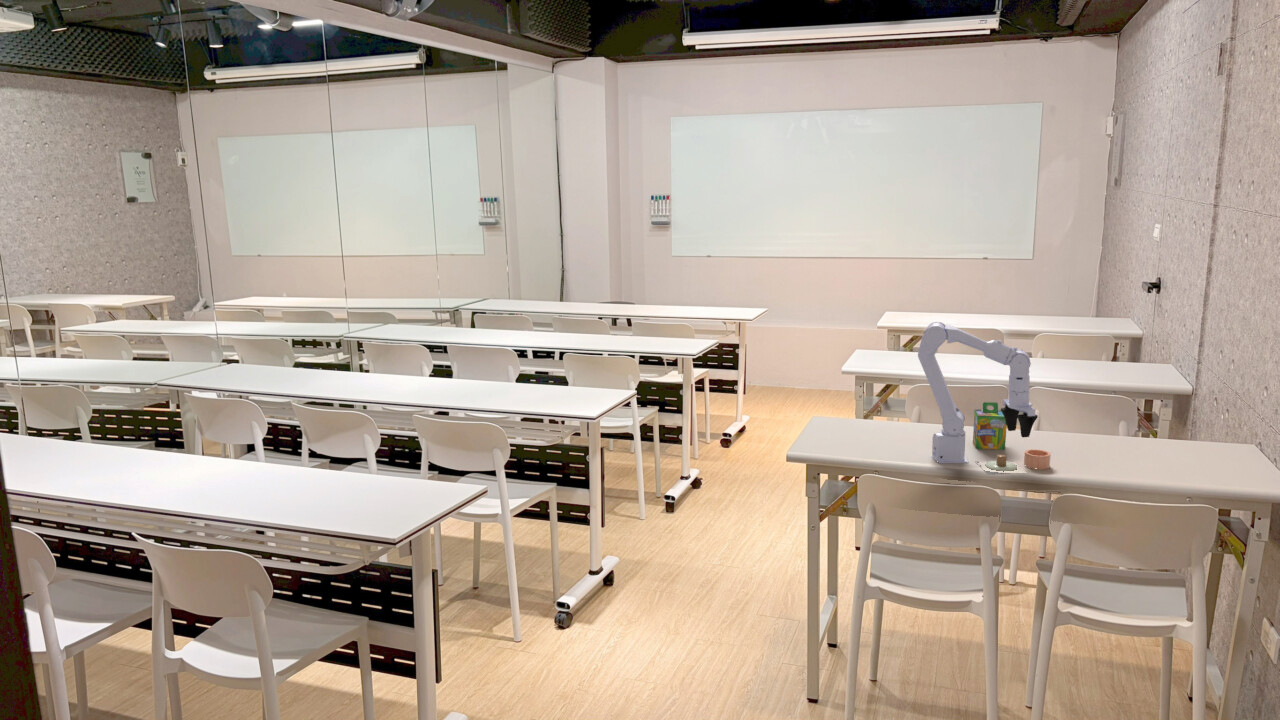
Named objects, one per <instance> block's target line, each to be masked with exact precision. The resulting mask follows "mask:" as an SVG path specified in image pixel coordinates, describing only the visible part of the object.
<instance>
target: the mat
mask: <svg viewBox="0 0 1280 720" xmlns="http://www.w3.org/2000/svg"><path fill="white" fill-rule="evenodd" d="M976 462H977V463H979V461H976ZM977 463H976V464H977ZM983 471H984V472H985V473H986V474H987V475H1007V474H1006V473H1005V474H1004V473H998V472H990V471H985V470H983Z"/></svg>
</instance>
